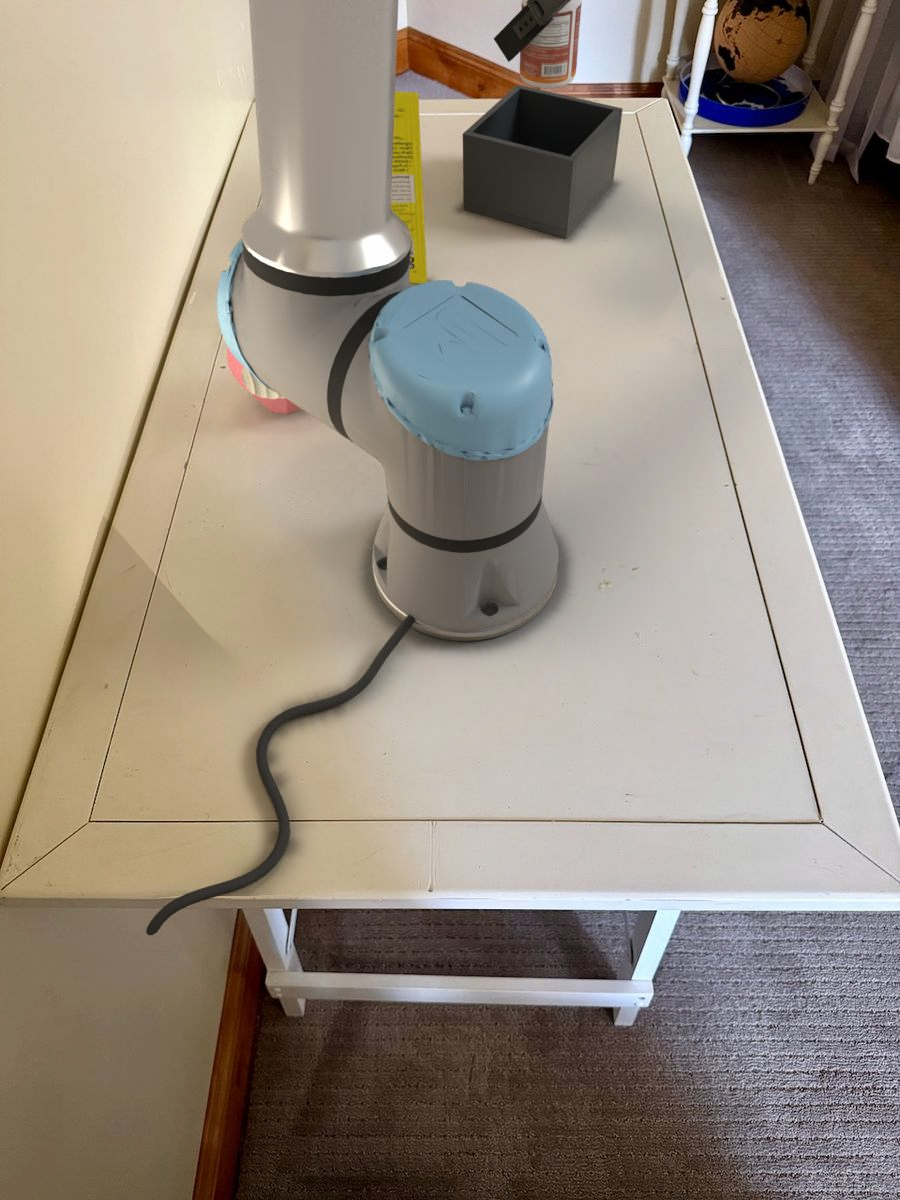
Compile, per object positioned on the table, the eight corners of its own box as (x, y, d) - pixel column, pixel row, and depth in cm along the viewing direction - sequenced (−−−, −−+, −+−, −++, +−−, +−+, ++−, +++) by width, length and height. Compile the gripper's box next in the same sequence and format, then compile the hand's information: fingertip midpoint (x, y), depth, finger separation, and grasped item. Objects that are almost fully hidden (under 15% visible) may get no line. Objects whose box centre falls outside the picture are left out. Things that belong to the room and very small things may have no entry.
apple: (229, 427, 85) (204, 340, 77) (254, 369, 90) (233, 281, 82) (327, 436, 84) (312, 348, 76) (347, 376, 90) (335, 288, 82)
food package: (427, 281, 99) (418, 90, 83) (426, 287, 98) (417, 95, 82) (291, 275, 100) (256, 86, 84) (289, 281, 100) (254, 91, 84)
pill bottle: (543, 60, 101) (550, -57, 92) (587, 76, 98) (598, -43, 89) (507, 79, 98) (510, -39, 89) (551, 96, 96) (558, -25, 87)
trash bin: (566, 238, 104) (573, 161, 96) (463, 209, 108) (462, 133, 101) (613, 184, 111) (622, 108, 103) (514, 158, 115) (517, 84, 108)
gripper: (663, -54, 75) (493, 104, 93) (752, -119, 84) (581, 36, 103) (614, -144, 72) (449, 37, 91) (711, -200, 82) (543, -26, 100)
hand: (519, 36), depth 97 cm, fingers closed on pill bottle, 6 cm apart
